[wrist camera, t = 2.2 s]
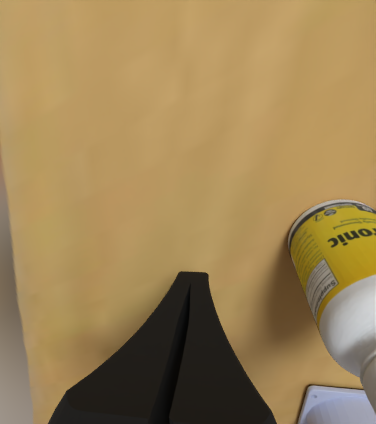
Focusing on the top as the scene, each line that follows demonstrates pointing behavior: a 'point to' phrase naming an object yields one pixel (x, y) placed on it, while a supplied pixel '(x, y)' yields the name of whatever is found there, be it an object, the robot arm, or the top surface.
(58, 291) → the top surface
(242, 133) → the top surface
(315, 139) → the top surface
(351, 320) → the supplement bottle
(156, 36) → the top surface
